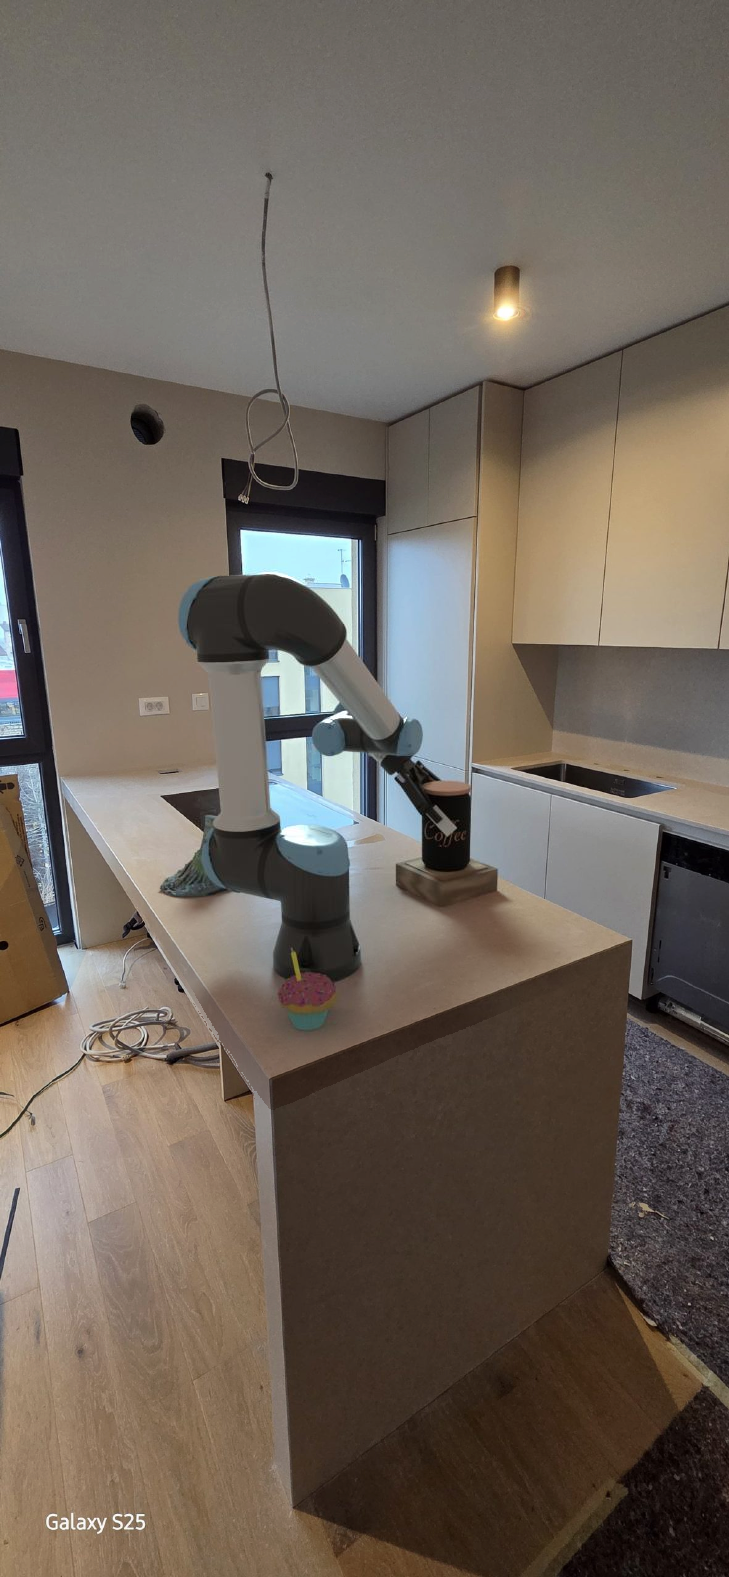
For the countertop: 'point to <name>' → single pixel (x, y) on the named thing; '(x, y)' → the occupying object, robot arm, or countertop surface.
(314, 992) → the cupcake
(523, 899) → the countertop surface
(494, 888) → the wooden tray
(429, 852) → the coffee jar
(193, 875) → the tree stump
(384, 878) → the countertop surface
